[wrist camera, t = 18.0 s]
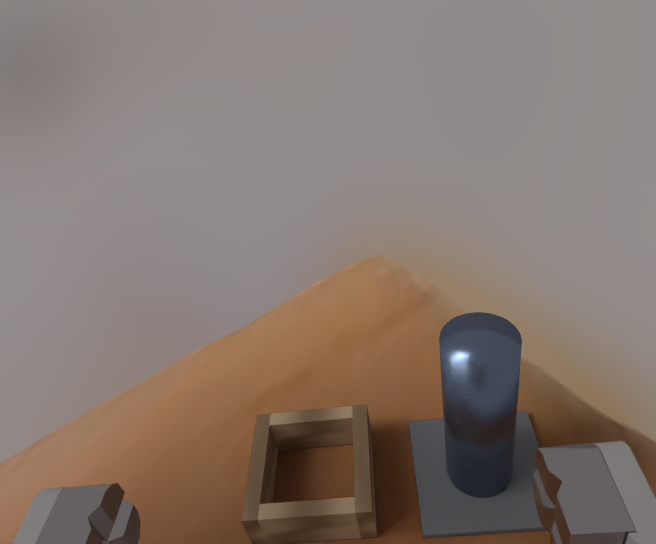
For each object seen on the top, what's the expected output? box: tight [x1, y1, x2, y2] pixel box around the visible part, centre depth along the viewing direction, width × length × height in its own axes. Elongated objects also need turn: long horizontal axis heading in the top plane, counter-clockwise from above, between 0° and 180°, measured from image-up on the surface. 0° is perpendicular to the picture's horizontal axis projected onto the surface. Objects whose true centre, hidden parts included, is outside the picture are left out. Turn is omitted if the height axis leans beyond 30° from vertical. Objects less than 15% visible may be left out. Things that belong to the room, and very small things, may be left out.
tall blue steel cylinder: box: [439, 312, 522, 498], centre depth 38 cm, size 5×5×14 cm
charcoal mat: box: [409, 411, 547, 538], centre depth 43 cm, size 10×10×1 cm
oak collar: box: [241, 405, 377, 544], centre depth 43 cm, size 9×9×4 cm
